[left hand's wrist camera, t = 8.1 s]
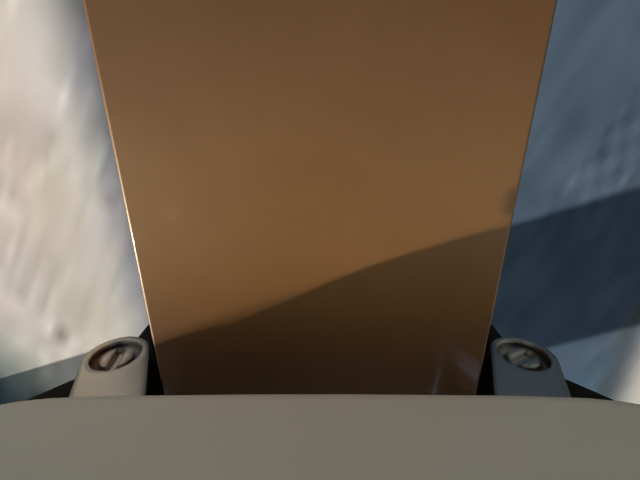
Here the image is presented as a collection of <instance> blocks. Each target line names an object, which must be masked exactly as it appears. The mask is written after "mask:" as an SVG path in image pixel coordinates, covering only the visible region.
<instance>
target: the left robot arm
mask: <svg viewBox="0 0 640 480" xmlns="http://www.w3.org/2000/svg"><path fill="white" fill-rule="evenodd" d="M0 480H640V405H638V404H633V403H627V402H621V401H614V400H612V399H610V398H607V397H605V396H603V395H601V394H598V393H596V392H594V391H591V390H589V389H587V388H584V387H582V386H580V385H578V384H575V383H573V382H571V381H568V380H566V379H565V378H564V375H563V372H562V369H561V366H560V364H559V361H558V360H557V358H556V357H555V355H553V354H552V353H551V352H550V351H549V350H548V349H546V348H544V347H543V346H541V345H539V344H537V343H535V342H533V341H530V340H527V339H523V338H518V337H501V336H500V335H499V333H498V332H497V331H496V330H495V328H494V327H493V326H492V324H491V325H490V330H489V335H488V340H487V345H486V349H485V354H484V359H483V364H482V369H481V374H480V379H479V383H478V388H477V393H476V395H381V394H244V395H164V392H163V388H162V383H161V378H160V373H159V368H158V363H157V358H156V354H155V349H154V344H153V339H152V334H151V329H150V324H149V325H148V326H147V327H146V329H145V330H144V331H143V332H142V334H141V335H140V336H139V337H122V338H117V339H113V340H110V341H107V342H105V343H103V344H101V345H99V346H97V347H96V348H94V349H92V350H91V351H90V352H89V353H88V354H87V355H85V357H84V358H83V360H82V361H81V364H80V366H79V369H78V372H77V375H76V378H75V379H74V380H72V381H69V382H67V383H65V384H63V385H60V386H58V387H56V388H53V389H51V390H49V391H47V392H44V393H42V394H40V395H37V396H35V397H33V398H30V399H28V400H26V401H19V402H13V403H7V404H1V405H0Z"/></svg>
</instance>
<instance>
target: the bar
mask: <svg viewBox="0 0 640 480" xmlns="http://www.w3.org/2000/svg"><path fill="white" fill-rule="evenodd" d="M83 3H84V8H85V13H86V18H87V22H88V27H89V32H90V37H91V42H92V47H93V52H94V56H95V61H96V66H97V71H98V76H99V81H100V86H101V91H102V95H103V100H104V105H105V110H106V115H107V120H108V125H109V130H110V134H111V139H112V144H113V149H114V154H115V159H116V164H117V168H118V173H119V178H120V183H121V188H122V193H123V198H124V203H125V207H126V212H127V217H128V222H129V227H130V232H131V237H132V242H133V246H134V251H135V256H136V261H137V266H138V271H139V276H140V280H141V285H142V290H143V295H144V300H145V305H146V310H147V315H148V319H149V324H150V329H151V334H152V339H153V344H154V349H155V354H156V358H157V363H158V368H159V373H160V378H161V383H162V388H163V392H164V395H244V394H381V395H476V393H477V388H478V383H479V379H480V374H481V369H482V364H483V359H484V354H485V349H486V345H487V340H488V335H489V330H490V325H491V320H492V315H493V311H494V306H495V301H496V296H497V291H498V286H499V281H500V277H501V272H502V267H503V262H504V257H505V252H506V247H507V242H508V238H509V233H510V228H511V223H512V218H513V213H514V208H515V204H516V199H517V194H518V189H519V184H520V179H521V174H522V170H523V165H524V160H525V155H526V150H527V145H528V140H529V136H530V131H531V126H532V121H533V116H534V111H535V106H536V101H537V97H538V92H539V87H540V82H541V77H542V72H543V67H544V63H545V58H546V53H547V48H548V43H549V38H550V33H551V29H552V24H553V19H554V14H555V9H556V4H557V0H83Z"/></svg>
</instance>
